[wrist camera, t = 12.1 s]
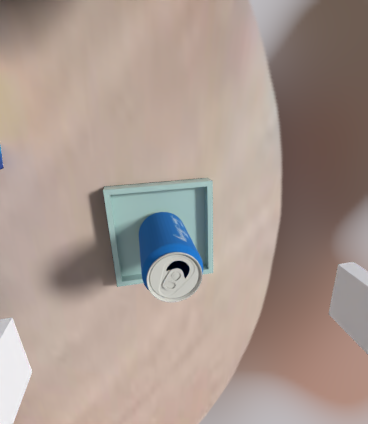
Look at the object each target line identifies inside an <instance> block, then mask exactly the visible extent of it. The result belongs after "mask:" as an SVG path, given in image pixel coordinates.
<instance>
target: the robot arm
mask: <svg viewBox="0 0 368 424" xmlns="http://www.w3.org/2000/svg"><path fill="white" fill-rule="evenodd" d="M329 315H330V316H331V317H332V318H333V319H334V320H335V321H336V322H337V323H338V324H339V325H340V326H341V327H342V328H343V329H344V330H345V332H346V333H347V334H348V335H349V336H350V337H351V338H352V339H353V340H354V341H355V342H356V343H357V344H358V345H359V346H360V347H361V348H362V349H363V350H364V351H365V352H366V353H367V354H368V271H366V270H365V269H363V268H362V267H360V266H359V265H357V264H356V263H355V262H350V263H344V264H338V269H337V273H336V279H335V284H334V289H333V294H332V299H331V304H330V309H329ZM31 374H32V370H31V367H30V364H29V362H28V359H27V356H26V353H25V351H24V348H23V345H22V343H21V340H20V337H19V334H18V332H17V329H16V326H15V324H14V321H13V318H6V319H0V424H13V422H14V420H15V417H16V414H17V412H18V409H19V406H20V403H21V401H22V398H23V395H24V393H25V390H26V387H27V384H28V382H29V379H30V376H31Z"/></svg>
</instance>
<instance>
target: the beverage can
mask: <svg viewBox="0 0 368 424" xmlns="http://www.w3.org/2000/svg"><path fill="white" fill-rule="evenodd" d="M139 247H140V260H141V273H142V280H143V282H144V285H145V286H146V288H147V289H148V290H149V291H150V292H151V294H152V295H153V296H154V297H156V298H157V299H159V300H161V301H164V302H178V301H182V300H184V299H187V298H188V297H190V296H191V295H193V294H194V293H195V292H196V290H197V289H198V288H199V286H200V284H201V281H202V274H203V262H202V259H201V257H200V255H199V253H198V251H197V249H196V247H195V245H194V243H193V241H192V239H191V238H190V236H189V234H188V232H187V230H186V228H185V226H184V224H183V222H182V221H181V219H180V218H179V217H177V216H176V215H174V214H172V213H169V212H158V213H154V214H152V215H150V216H149V217H147V218H146V219H145V220H144V221H143V223H142V224H141V226H140V229H139Z"/></svg>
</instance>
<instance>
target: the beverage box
mask: <svg viewBox="0 0 368 424" xmlns="http://www.w3.org/2000/svg"><path fill="white" fill-rule="evenodd" d="M0 169H3V160H2V153H1V146H0Z"/></svg>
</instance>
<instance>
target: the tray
mask: <svg viewBox="0 0 368 424" xmlns="http://www.w3.org/2000/svg"><path fill="white" fill-rule="evenodd" d="M103 193H104V200H105V207H106V214H107V220H108V227H109V234H110V241H111V248H112V254H113V261H114V268H115V275H116V281H117V287H119V286H126V285H133V284H140V283H144V282H143V280H142V273H141V260H140V247H139V229H140V226H141V224H142V223H143V221H144V220H145V219H146V218H147V217H149V216H150V215H152V214H154V213H158V212H169V213H172V214H174V215H176V216H177V217H179V218H180V219H181V221H182V222H183V224H184V226H185V228H186V230H187V232H188V234H189V236H190V238H191V239H192V241H193V243H194V245H195V247H196V249H197V251H198V253H199V255H200V257H201V259H202V262H203V274H208V273H213V190H212V180H211V179H209V178H200V179H188V180H176V181H164V182H152V183H140V184H128V185H116V186H104V189H103Z"/></svg>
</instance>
